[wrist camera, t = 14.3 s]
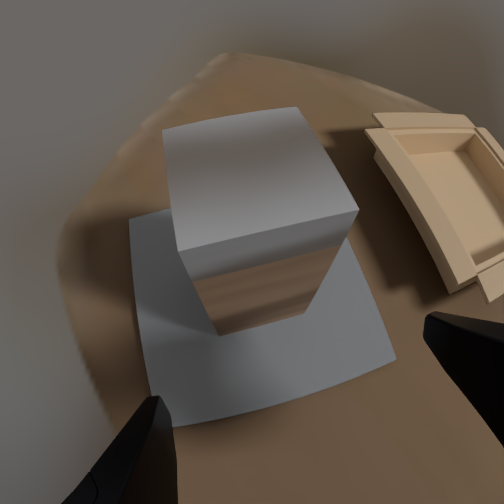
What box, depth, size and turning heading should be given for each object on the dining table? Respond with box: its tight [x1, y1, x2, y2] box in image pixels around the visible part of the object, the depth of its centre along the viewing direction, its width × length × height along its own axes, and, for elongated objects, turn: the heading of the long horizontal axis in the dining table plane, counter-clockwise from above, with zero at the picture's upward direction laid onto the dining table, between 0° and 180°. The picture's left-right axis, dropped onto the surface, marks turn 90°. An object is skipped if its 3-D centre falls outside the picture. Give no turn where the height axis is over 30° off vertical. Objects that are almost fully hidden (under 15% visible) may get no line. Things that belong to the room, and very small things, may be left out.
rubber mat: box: [129, 208, 397, 427], centre depth 18 cm, size 14×14×1 cm
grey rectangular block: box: [162, 107, 359, 336], centre depth 13 cm, size 5×5×10 cm
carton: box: [364, 113, 504, 304], centre depth 20 cm, size 17×17×4 cm
